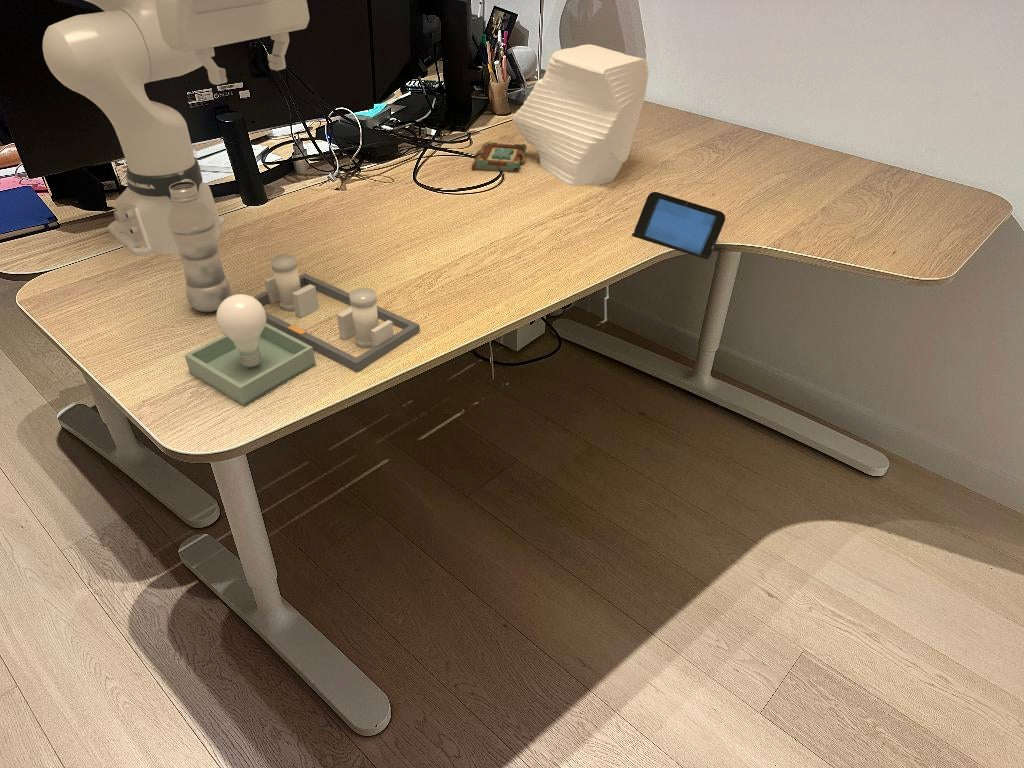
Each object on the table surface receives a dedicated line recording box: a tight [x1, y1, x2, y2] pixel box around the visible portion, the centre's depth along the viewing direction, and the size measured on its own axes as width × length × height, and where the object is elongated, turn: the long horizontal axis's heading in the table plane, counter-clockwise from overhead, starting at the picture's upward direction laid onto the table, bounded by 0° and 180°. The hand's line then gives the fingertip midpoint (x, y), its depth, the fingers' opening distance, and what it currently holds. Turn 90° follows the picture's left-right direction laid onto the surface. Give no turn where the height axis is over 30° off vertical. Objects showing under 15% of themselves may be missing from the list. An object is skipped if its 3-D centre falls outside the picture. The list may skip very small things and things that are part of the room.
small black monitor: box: [631, 191, 726, 260], centre depth 133 cm, size 16×13×9 cm
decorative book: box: [471, 140, 527, 172], centre depth 167 cm, size 13×18×5 cm
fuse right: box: [349, 287, 380, 349], centre depth 109 cm, size 4×4×8 cm
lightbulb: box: [215, 293, 266, 367], centre depth 102 cm, size 6×6×11 cm
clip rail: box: [253, 272, 421, 373], centre depth 115 cm, size 26×13×4 cm, turn 53°
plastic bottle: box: [168, 181, 232, 313], centre depth 113 cm, size 6×7×20 cm
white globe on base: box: [270, 253, 302, 312], centre depth 117 cm, size 4×4×8 cm
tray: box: [184, 323, 317, 407], centre depth 105 cm, size 12×12×3 cm
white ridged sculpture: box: [511, 43, 649, 187], centre depth 161 cm, size 21×27×26 cm
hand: (249, 76), depth 99 cm, fingers open, 8 cm apart
